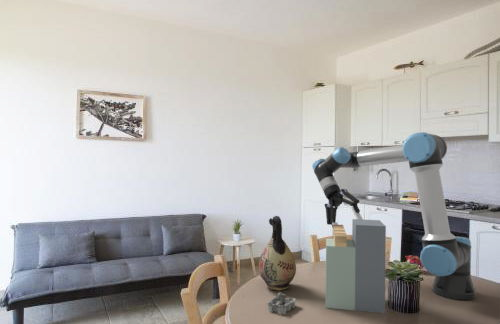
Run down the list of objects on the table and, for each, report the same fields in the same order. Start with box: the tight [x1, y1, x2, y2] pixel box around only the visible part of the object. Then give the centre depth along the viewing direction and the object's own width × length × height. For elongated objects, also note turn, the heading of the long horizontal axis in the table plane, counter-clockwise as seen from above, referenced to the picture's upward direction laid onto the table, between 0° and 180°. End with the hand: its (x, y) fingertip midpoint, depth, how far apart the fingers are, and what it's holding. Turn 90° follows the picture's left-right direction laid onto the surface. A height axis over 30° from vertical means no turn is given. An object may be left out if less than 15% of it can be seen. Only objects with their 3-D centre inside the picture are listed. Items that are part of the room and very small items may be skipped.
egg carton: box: [266, 291, 296, 315], centre depth 126 cm, size 11×8×4 cm
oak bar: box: [332, 224, 348, 247], centre depth 138 cm, size 24×4×4 cm, turn 168°
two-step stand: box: [324, 218, 387, 314], centre depth 132 cm, size 14×20×30 cm
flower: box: [405, 254, 424, 270], centre depth 173 cm, size 10×9×8 cm
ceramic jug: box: [258, 215, 297, 291], centre depth 147 cm, size 17×15×30 cm
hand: (350, 228), depth 156 cm, fingers open, 13 cm apart
